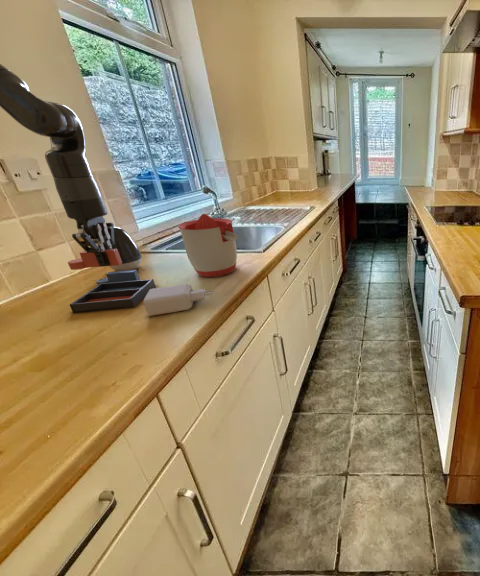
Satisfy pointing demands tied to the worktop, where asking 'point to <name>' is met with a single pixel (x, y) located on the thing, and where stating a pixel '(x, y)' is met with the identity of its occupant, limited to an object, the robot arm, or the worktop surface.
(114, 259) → the terracotta spoon
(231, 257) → the citrus juicer
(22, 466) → the worktop surface
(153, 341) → the worktop surface
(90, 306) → the cutlery tray
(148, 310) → the charger
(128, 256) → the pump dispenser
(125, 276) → the slate-blue spoon
